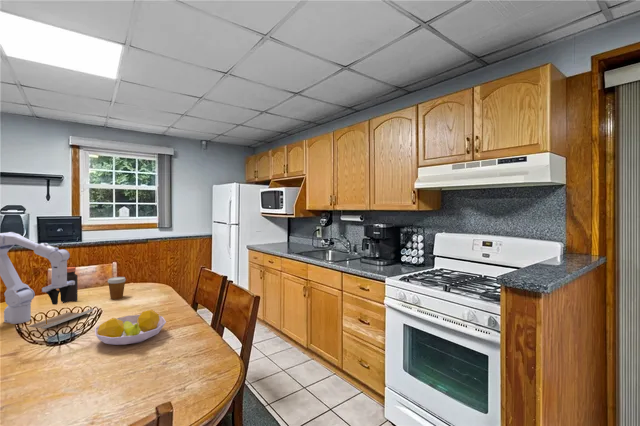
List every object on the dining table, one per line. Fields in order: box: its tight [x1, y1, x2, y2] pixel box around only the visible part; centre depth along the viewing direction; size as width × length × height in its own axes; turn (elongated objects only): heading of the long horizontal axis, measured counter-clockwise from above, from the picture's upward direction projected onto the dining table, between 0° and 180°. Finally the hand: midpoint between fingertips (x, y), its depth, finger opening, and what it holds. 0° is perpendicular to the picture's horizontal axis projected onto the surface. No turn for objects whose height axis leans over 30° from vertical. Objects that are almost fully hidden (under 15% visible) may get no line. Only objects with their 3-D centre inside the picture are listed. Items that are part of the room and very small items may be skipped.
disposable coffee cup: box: [107, 276, 127, 300], centre depth 192 cm, size 10×10×12 cm
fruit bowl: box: [94, 309, 167, 346], centre depth 135 cm, size 28×27×11 cm
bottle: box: [62, 266, 79, 304], centre depth 182 cm, size 7×7×20 cm
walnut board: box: [26, 311, 80, 329], centre depth 152 cm, size 7×20×1 cm, turn 170°
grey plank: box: [40, 308, 95, 330], centre depth 151 cm, size 8×20×1 cm, turn 170°
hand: (59, 303), depth 152 cm, fingers open, 4 cm apart
